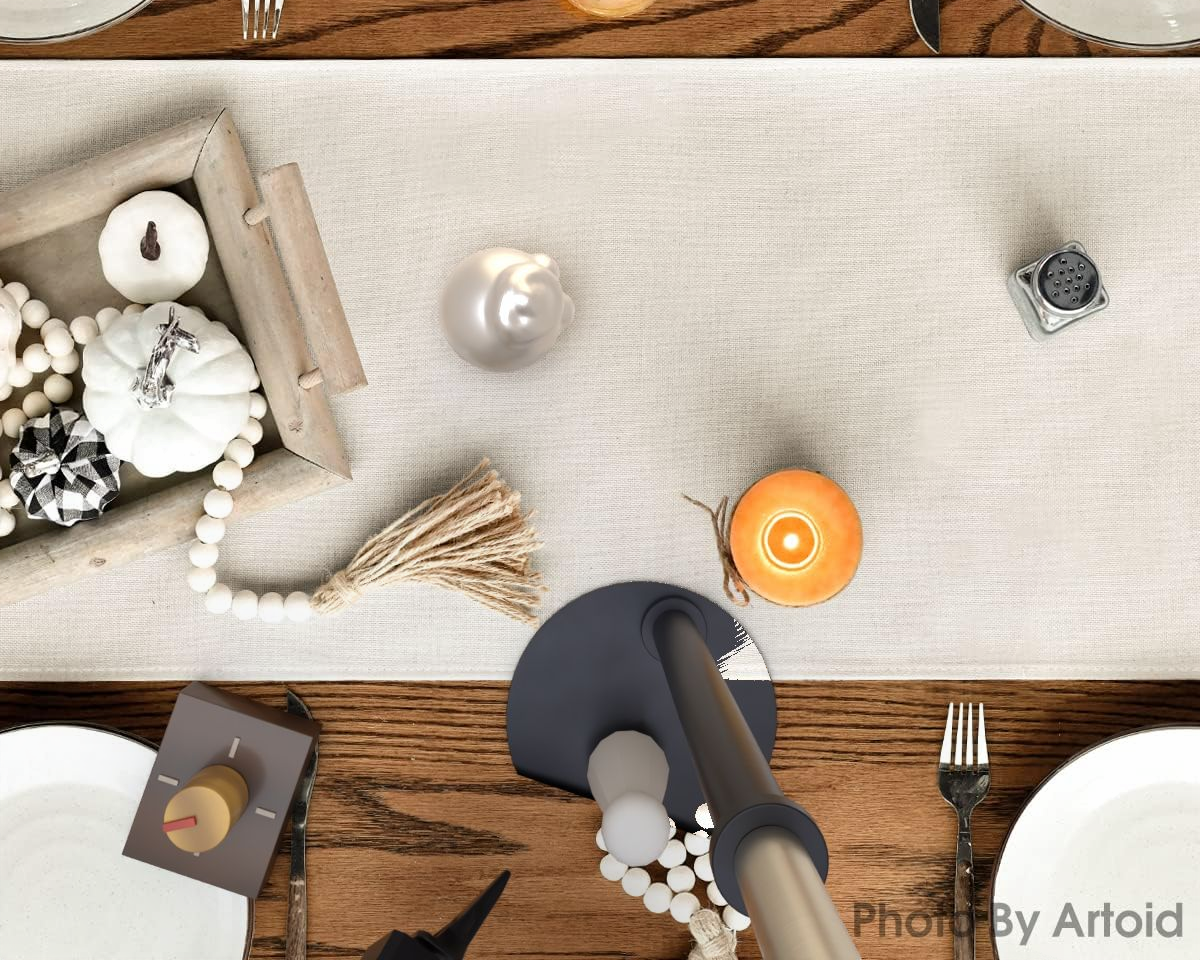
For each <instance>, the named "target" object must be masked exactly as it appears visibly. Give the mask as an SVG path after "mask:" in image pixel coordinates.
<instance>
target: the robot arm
mask: <svg viewBox="0 0 1200 960" xmlns="http://www.w3.org/2000/svg"><path fill="white" fill-rule="evenodd" d="M511 876H512V872H511V870H508V869H505V870H503V871H502V872H501V873H499V874H498V875H497V876H496V877H495V878H494V879H493V880H492V881H491V882H490V883H489V884H488V885H486V887H485V888H484V889H482V891H481V892H480V893H479V894H477V895H476V896H475V897H474V898H473V899H472V900H471V901H470V902H469V903H468V904H467V905H466V906H465V907H464V908H463V909H462V910H461V911H460V912H458V913H457V915H455V916H454V918H452V919H451V920H450V921H449V922H448V923H447V924H446V925H445V926H443V927H442V928H441V929H439V930H438V931H436V932H435V933H434V934H432V933H431V932H428V931H427V930H424V929H419V930H416V931H415V932H413V933H412V934H410V935H409V934H407V933H406V932H404V931H401V930H398V929H396V928H393V929H392V930H391V931H389V932H387V933H386V934H385V935H384V936H382V937H381V938H379V939H378V940H376V941H374V942H373V943H372V944H370V945H369V946H367V948H366V949H365V951H364V953H363V954H362V956H361V958H360V960H464V959H465V955H466V953H467V951H468V948H469V946H470V944H471V942H472V941H473V940H474V938H475V937H476V935H477V933H478V931H479V930H480V929H481V927H482V926H483V924H484V923H485V921H486V919H487V918H488V916H489V914H490V913H491V912H492V910H493V908H494V907H495V905H496V904H497V903H498V901H499V899H500V898H501V896H502V894H503V893H504V892H505V889H506V886H507V884H508V882H509V880H510V878H511ZM619 960H628V959H627V958H625V957H622V958H620V959H619Z"/></svg>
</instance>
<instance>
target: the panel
mask: <svg viewBox="0 0 1200 960" xmlns="http://www.w3.org/2000/svg"><path fill="white" fill-rule="evenodd" d="M323 727H324V724H323V723H321V722H318V721H316V720H313V719H309V718H307V717H304V716H301V715H298V714H295V713H292V712H289V711H286V710H283V709H280V708H277V707H274V706H271V705H268V704H266V703H262V702H260V701H256V700H254V699H251V698H247V697H244V696H241V695H239V694H235V693H233V692H230V691H227V690H225V689H221V688H218V687H215V686H212V685H211V684H210V685H209V684H208V683H207V684H206V683H203V682H200V681H198V680H193V681H192V682H190V683H189V684H188V685H187V686H185V687H184V688H182V689H181V690H180V691H179V692H178V694H177V697H176V701H175V703H174V706H173V709H172V712H171V714H170V717H169V720H168V722H167V725H166V728H165V731H164V734H163V737H162V740H161V742H160V745H159V748H158V750H157V754H156V756H155V758H154V762H153V764H152V768H151V770H150V773H149V776H148V779H147V782H146V784H145V787H144V790H143V793H142V796H141V798H140V801H139V804H138V807H137V810H136V812H135V815H134V819H133V821H132V823H131V826H130V829H129V832H128V835H127V838H126V840H125V844H124V846H123V848H122V852H121V855H122V856H124V857H126V858H130V859H132V860H136V861H139V862H141V863H144V864H146V865H147V864H148V865H151V866H153V867H156V868H159V869H161V870H165V871H168V872H171V873H174V874H176V875H181V876H184V877H186V878H189V879H191V880H195V881H198V882H201V883H203V884H207V885H211V886H213V887H215V888H219V889H222V890H225V891H228V892H231V893H234V894H236V895H239V896H243V897H245V898H248V899H252V900H255V901H257V899H259V897H260V896H261V893H262V892H263V890H264V888H265V887H266V885H267V883H268V882H269V881H270V878H271V875H272V871H273V869H274V867H275V864H276V861H277V858H278V855H279V853H280V849H281V846H282V843H283V841H284V838H285V835H286V832H287V830H288V826H289V824H290V821H291V818H292V815H293V812H294V810H295V807H294V806H296V804H295V803H297V801H298V798H299V795H300V792H301V790H300V788H301V789H302V787H301V785H302V786H303V784H304V781H305V778H306V775H307V772H308V770H307V768H308V769H309V767H310V764H309V763H311V761H310V760H312V757H313V755H314V753H315V750H316V747H317V744H318V741H319V738H320V736H321V733H322V730H323ZM313 752H314V753H313ZM214 765H221V766H226V767H229V768H231V769H233V770H235V771H236V772H238V773H239V774H240V775H241V777H242V778H243V779H244V781H245V783H246V785H247V789H248V804H247V807H246V810H245V812H244V813H243V815H242V816H241V817H240V819H239V820H238V821H237V823H236V824H235V825H234V826H233V828H232V829H231V830H230V832H229V833H228V834H227V835H226V837H225V838H224V839H223V841H222V842H221V843H220V844H219V845H217V846H216V847H214V848H213V849H211V850H208V851H205V852H200V853H193V852H188V851H185V850H182V849H180V848H179V847H177V846H176V845H175V844H174V843H173V842H172V841H171V840H170V838H169V837H168V835H167V833H166V832H165V833H164V830H163V824H164V814H165V810H166V807H167V805H168V803H169V801H170V800H171V799H172V798H173V797H174V795H175V794H176V793H177V792H178V791H179V790H180V789H181V788H182V787H183V786H184V785H185V784H186V783H187V782H188V781H189V780H190V779H191V778H192V777H193V776H194V775H195V774H196V773H197V772H199V771H200V770H202V769H204V768H206V767H209V766H214ZM308 766H309V767H308ZM306 771H307V772H306ZM305 774H306V775H305ZM304 777H305V778H304ZM303 780H304V781H303ZM302 783H303V784H302ZM299 791H300V792H299ZM298 794H299V795H298ZM297 797H298V798H297ZM296 800H297V801H296Z"/></svg>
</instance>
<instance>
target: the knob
mask: <svg viewBox="0 0 1200 960" xmlns="http://www.w3.org/2000/svg"><path fill="white" fill-rule="evenodd" d="M247 804H248V789H247V785H246V783H245V781H244V779H243V778H242V777H241V775H240V774H239V773H238V772H236V771H235V770H233V769H231V768H229V767H226V766H221V765H214V766H209V767H206V768H204V769H202V770H200V771H199V772H197V773H196V774H195V775H194V776H193V777H192V778H191V779H190V780H189V781H188V782H187V783H186V784H185V785H184V786H183V787H182V788H181V789H180V790H179V791H178V792H177V793H176V794H175V795H174V797H173V798H172V799H171V800H170V801H169V803H168V805H167V807H166V810H165V814H164V824H163V830H164V833H165V832H166V833H167V835H168V837H169V838H170V840H171V841H172V842H173V843H174V844H175V845H176V846H177V847H179V848H180V849H182V850H185V851H188V852H193V853H200V852H205V851H208V850H211V849H213V848H214V847H216V846H217V845H219V844H220V843H221V842H222V841H223V839H224V838H225V837H226V835H227V834H228V833H229V832H230V830H231V829H232V828H233V826H234V825H235V824H236V823H237V821H238V820H239V819H240V817H241V816H242V815H243V813H244V812H245V810H246V807H247Z"/></svg>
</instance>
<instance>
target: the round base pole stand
mask: <svg viewBox="0 0 1200 960" xmlns="http://www.w3.org/2000/svg"><path fill="white" fill-rule="evenodd" d="M631 581H632V582H630V581H623V582H624V583H622V582H617V583H616V584H615V583H611V584H612V585H611V584H608V585H609V586H608V585H605V587H604V586H601V587H597V588H595V589H593V590H590V591H588V592H585V593H583V594H581V595H579V596H578V597H576V598H574V599H572V600H571V601H569V602H567V603H566V604H564V605H563V606H562V607H561V608H559V609H558V610H556V611H555V612H554V613H553V614H552V615H551V616H550V617H549V618H547V620H545V622H544V623H542V625H541V626H540V627H539V628H538V629H537V630H536V632H535V633H534V634H533V636H532V637H531V638H530V640H529V641H528V643H527V644H526V646H525V648H524V650H523V652H522V653H521V655H520V657H519V659H518V662H517V665H516V666H515V669H514V671H513V674H512V678H511V681H510V685H509V689H508V693H507V694H508V695H507V701H506V709H505V731H506V739H507V746H508V747H507V748H508V750H509V754H510V757H511V762H512V765H513V767H514V769H515V772H516V775H517V776H520V777H523V778H526V779H528V780H531V781H535V782H537V783H540V784H543V785H546V786H549V787H552V788H555V789H558V790H561V791H564V792H566V793H570V794H572V795H576V796H579V797H582V798H585V799H587V800H590V801H594V802H596V800H595V798H594V796H593V794H592V791H591V788H590V784H589V781H588V777H587V774H588V766H589V759H590V756H591V754H592V753H593V751H594V750H595V749H596V747H597V746H598V744H599V743H600V741H602V740H603V739H605V738H606V737H608V736H610V735H611V734H613V733H615V732H617V731H636V732H639V733H642V734H645V735H647V736H650V737H651V738H652V739H653V740H654V741H655V743H656V744H657V745H658V746H659V747H660V748H661V749H662V750H663V752H664V754H665V757H666V761H667V764H668V767H669V774H668V780H667V787H666V791H665V794H664V798H663V802H662V805H663V806H664V807H665V809H666V812H667V815H668V817H669V818H671V819H672V820H673V821H674V822H675V826H676V828H675V829H676V830H679V831H682V832H685V833H688V834H690V835H694V836H696V834H693V833H695V832H697V831H700V830H703V831H705V832H707V834H708V835H709V836H708V838H710V840H709V844H708V845H709V846H708V861H709V866H710V869H711V874H712V876H713V880H714V883H715V886H716V889H717V890H718V892H719V894H720V896H721V897H722V898H723V900H724V901H725V902H726V903H727V904H728V905H729V906H730V907H731V908H732V909H733V910H734V911H736V912H737V913H739V914H741V915H742V916H744V917H746V918H747V919H748V918H749V922H750V923H751V924H750V925H751V927H752V929H753V932H754V935H755V939H756V941H757V945H758V947H759V950H760V953H761V957H762V959H763V960H863V959H862V957H861V955H860V952H859V951H858V949H857V947H856V945H855V942H854V941H853V939H852V937H851V934H850V933H849V931H848V929H847V927H846V925H845V923H844V921H843V919H842V917H841V915H840V914H839V911H838V910H837V907H836V905H835V904H834V901H833V899H832V897H831V896H830V894H829V891H828V889H827V887H826V886H825V885H826V882H827V879H828V874H829V868H830V854H829V849H828V845H827V842H826V839H825V836H824V834H823V832H822V830H821V829H820V827H819V825H818V823H817V822H816V819H814V817H813V816H812V814H810V812H809V811H808V810H807V809H806V808H805V807H804V806H803V805H801V804H799V802H797V801H795V800H793V799H791V798H789V797H786V796H785V794H784V792H783V790H782V788H781V787H780V784H779V783H778V781H777V778H776V777H775V775H774V773H773V771H772V769H771V767H770V763H771V759H772V756H773V752H774V748H775V745H776V737H777V736H776V735H777V728H778V707H777V701H776V692H775V688H774V685H773V680H772V681H769V680H764V681H762V680H755V681H754V680H738V679H737V680H729V678H728V679H723V677H722V675H721V673H723V672H725V671H727V670H728V669H727V670H724V671H722V672H720V671H719V669H720V668H722V667H724V666H722V667H720V666H721V665H723V664H725V663H723V664H721V665H718V664H720V663H722V662H723V661H725V660H727V659H728V658H730V657H731V656H732V655H731V656H728V657H726V658H724V659H721V660H719V659H720V658H721V657H722V656H724V655H726V654H727V653H729V652H731V651H732V650H734V649H736V648H737V647H739V646H740V645H742V644H743V643H745V642H746V641H747V640H746V641H744V639H747V638H748V637H746V638H744V639H742V638H743V637H745V636H746V635H747V633H748V631H746V632H745V633H744V634H742V635H740V636H738V637H736V636H737V635H739V634H740V633H742V632H743V631H745V630H746V629H745V628H744V627H743V629H741V630H739V631H737V629H739V628H740V627H741V626H742V624H740V625H738V626H736V627H735V625H736V624H737V622H738V620H737V621H735V622H734V618H735V617H734V618H733V617H732V616H733V615H732V614H731V613H729V612H728V611H727V610H725V609H724V608H723V607H722V606H720V605H719V604H718V603H716V602H715V601H713V600H711V599H710V598H708V597H706V596H704V595H703V596H702V594H701V593H699V594H697V593H698V592H696V591H694V592H693V590H691V589H689V588H687V589H685V588H686V587H684V588H681V587H682V586H680V587H678V586H679V585H676V586H674V585H675V584H673V585H671V584H672V583H669V584H667V583H668V582H662V583H659V582H660V581H655V582H652V581H653V580H631ZM647 581H649V582H647ZM665 583H666V584H665ZM688 589H689V590H688ZM690 590H691V591H690ZM695 592H696V593H695ZM700 594H701V595H700ZM705 597H706V598H705ZM707 598H708V599H707ZM709 599H710V600H711V601H710V600H709ZM712 601H713V602H712ZM714 602H715V603H716V604H715V603H714ZM717 604H718V605H719V606H718V605H717ZM721 607H722V608H723V609H722V608H721ZM726 611H727V612H728V613H727V612H726ZM730 614H731V615H732V616H731V615H730ZM744 629H745V630H744ZM735 637H736V638H735ZM740 639H742V640H740ZM749 639H750V638H749ZM749 639H748V640H749ZM739 640H740V641H739ZM737 641H738V642H737ZM743 641H744V642H743ZM752 643H753V642H752ZM750 644H751V643H750ZM750 644H748V645H750ZM735 645H736V646H735ZM748 645H746V646H748ZM744 647H745V646H744ZM744 647H742V648H740V649H738V650H736V651H739V650H741V649H743V648H744ZM734 652H735V651H734ZM739 652H740V651H739ZM737 653H738V652H737ZM737 653H735V654H737ZM735 654H733V655H735ZM717 660H719V661H717ZM717 665H718V666H717ZM727 665H728V664H727ZM725 666H726V665H725ZM705 803H707V806H708V810H709V813H710V816H711V819H712V822H713V825H714V828H708V829H706V828H705V829H704V828H703V827H701V826H700V825H699V824H698V823H697V821H696V818H695V814H696V811H697V809H698V807H699V806H701V805H702V804H705Z"/></svg>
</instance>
